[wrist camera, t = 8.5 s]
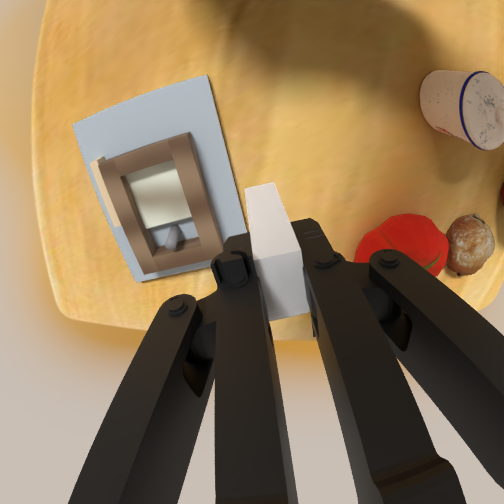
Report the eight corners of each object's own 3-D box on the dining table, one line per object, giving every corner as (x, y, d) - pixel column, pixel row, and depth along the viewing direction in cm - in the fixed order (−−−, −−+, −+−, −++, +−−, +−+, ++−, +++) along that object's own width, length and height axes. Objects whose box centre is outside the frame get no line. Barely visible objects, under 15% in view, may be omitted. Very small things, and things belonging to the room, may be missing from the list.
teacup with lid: (423, 140, 31) (484, 166, 21) (409, 71, 27) (473, 75, 17) (482, 125, 30) (540, 147, 20) (471, 65, 25) (533, 73, 15)
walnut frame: (106, 160, 29) (97, 165, 27) (190, 131, 28) (187, 134, 26) (148, 264, 36) (144, 274, 34) (224, 246, 36) (224, 256, 34)
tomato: (351, 294, 43) (372, 335, 36) (337, 223, 37) (363, 259, 29) (428, 264, 42) (456, 298, 34) (426, 192, 35) (464, 220, 28)
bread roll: (473, 215, 42) (504, 215, 34) (471, 272, 43) (501, 279, 35) (435, 211, 41) (468, 211, 33) (433, 275, 42) (465, 284, 34)
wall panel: (76, 123, 28) (55, 130, 23) (207, 75, 27) (203, 72, 23) (138, 277, 39) (129, 300, 35) (252, 251, 38) (255, 274, 34)
